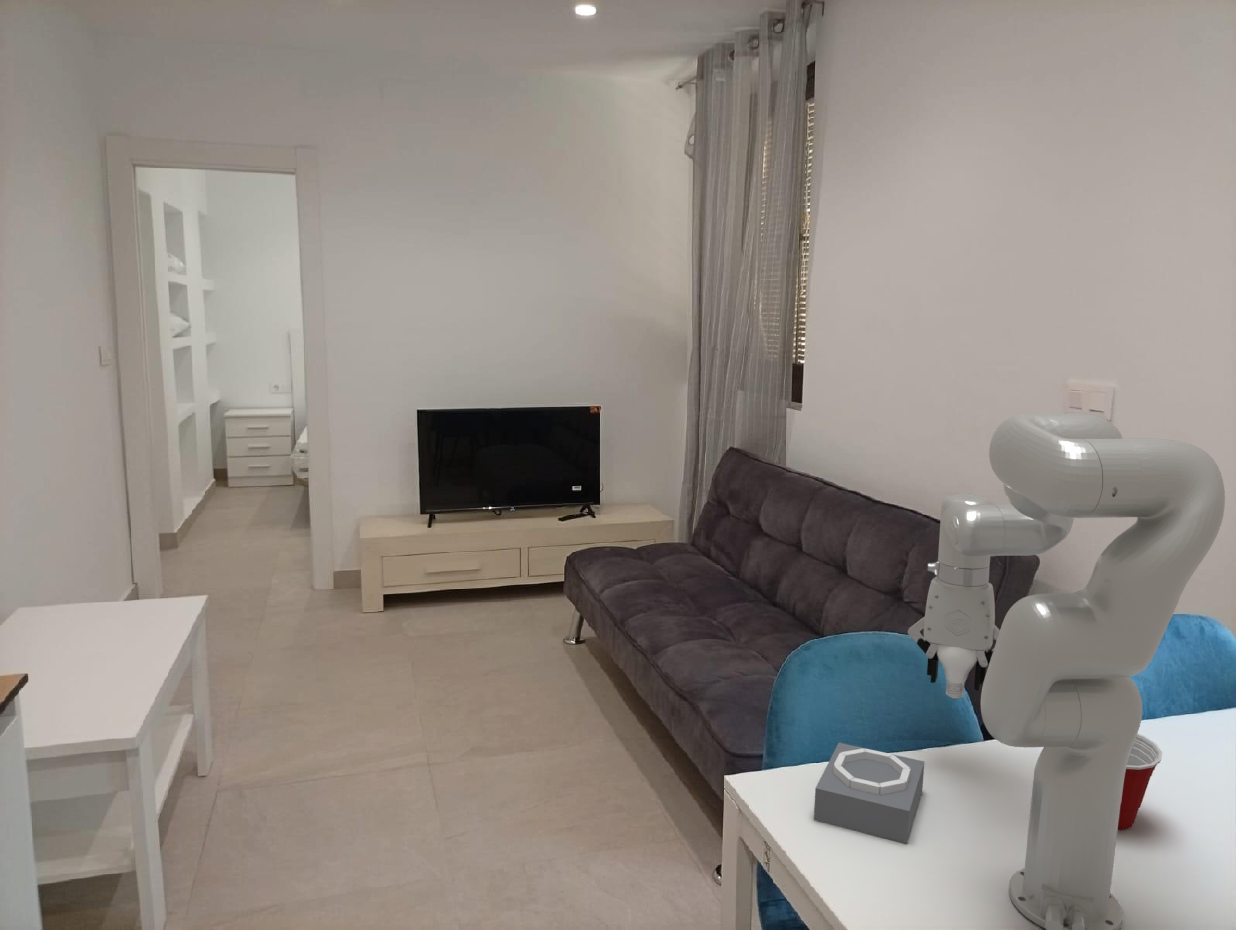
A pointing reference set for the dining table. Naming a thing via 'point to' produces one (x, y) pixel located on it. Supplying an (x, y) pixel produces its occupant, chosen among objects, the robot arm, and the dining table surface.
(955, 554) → the robot arm
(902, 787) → the octagon ring base plate
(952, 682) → the lightbulb
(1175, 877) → the dining table surface
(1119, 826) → the plastic cup
